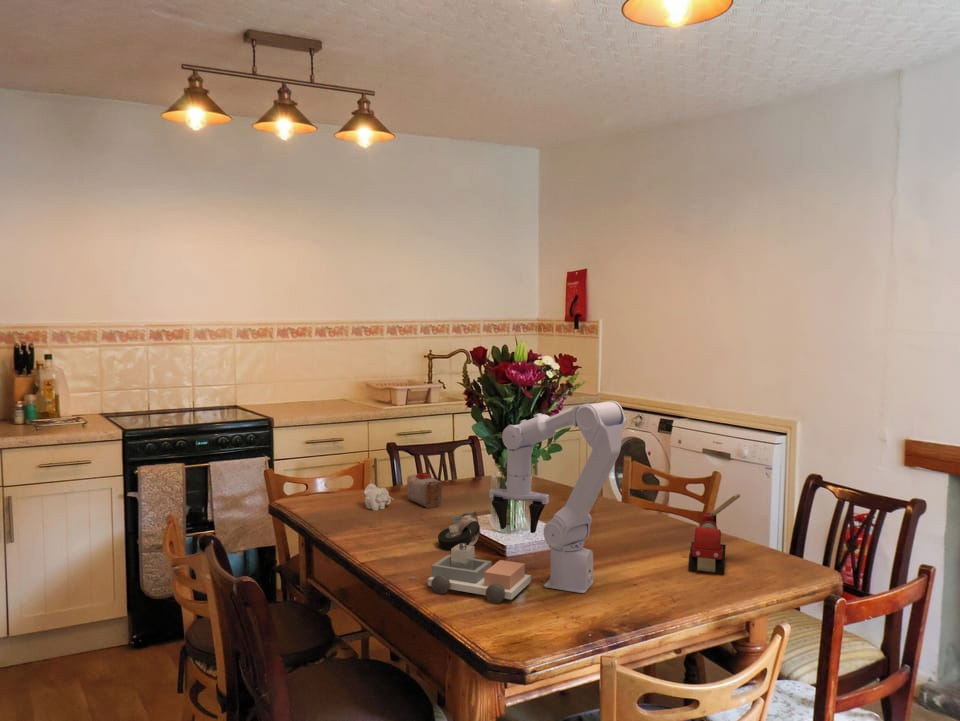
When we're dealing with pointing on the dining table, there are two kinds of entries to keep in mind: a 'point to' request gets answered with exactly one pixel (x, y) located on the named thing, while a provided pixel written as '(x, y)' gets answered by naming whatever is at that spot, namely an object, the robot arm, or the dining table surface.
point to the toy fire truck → (709, 544)
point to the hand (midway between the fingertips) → (518, 530)
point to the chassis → (480, 578)
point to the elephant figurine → (376, 497)
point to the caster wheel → (460, 531)
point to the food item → (424, 490)
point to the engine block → (463, 556)
